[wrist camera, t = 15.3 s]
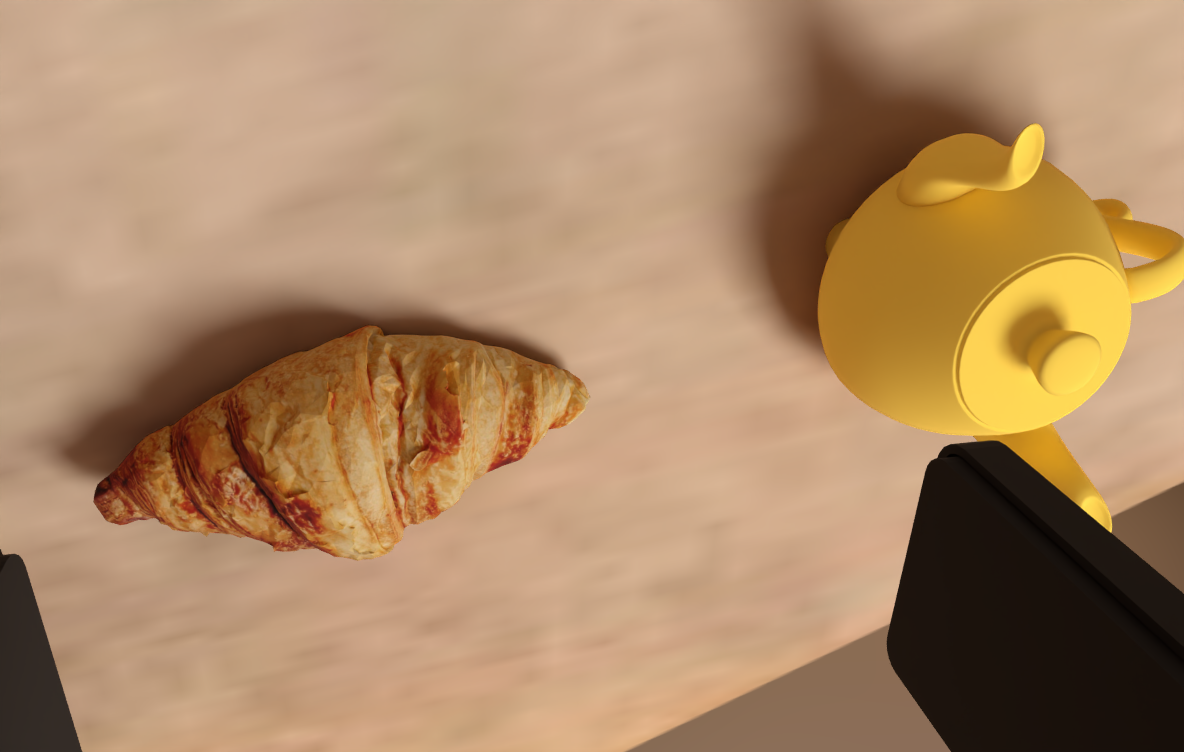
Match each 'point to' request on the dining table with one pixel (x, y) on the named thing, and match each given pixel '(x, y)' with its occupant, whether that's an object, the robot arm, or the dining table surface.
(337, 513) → the croissant
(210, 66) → the dining table surface
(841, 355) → the teapot
